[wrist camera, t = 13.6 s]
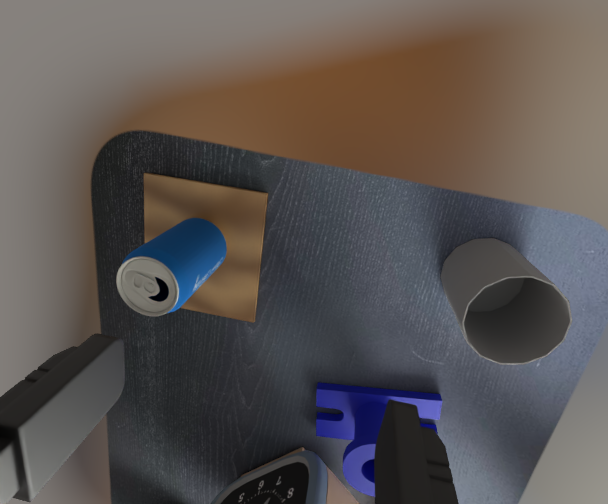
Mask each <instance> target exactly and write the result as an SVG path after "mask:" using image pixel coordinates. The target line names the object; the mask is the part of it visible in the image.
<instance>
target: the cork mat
mask: <svg viewBox="0 0 608 504" xmlns="http://www.w3.org/2000/svg"><path fill="white" fill-rule="evenodd" d="M267 200H268V193H266V192H260V191H254V190H248V189H242V188H236V187H230V186H224V185H218V184H212V183H206V182H200V181H194V180H188V179H182V178H176V177H171V176H165V175H159V174H153V173H144V227H145V243H147V242H149V241H150V240H152V239H154V238H155V237H157V236H159V235H160V234H162V233H164V232H165V231H167V230H169V229H170V228H172V227H174V226H175V225H177V224H179V223H181V222H182V221H184V220H186V219H189V218H202V219H205V220H208V221H210V222H211V223H213V224H214V225H216V226H217V227H218V228H219V230H220V231H221V232H222V234H223V236H224V238H225V240H226V245H227V253H226V257H225V259H224V261H223V263H222V264H221V265H220V266H219V267H218V268H217V269H216V270H215V271H214V273H213V274H212V275H211V276H210V277H209V278H208V279H207V280H206V281H205V282H204V283H203V284H202V285H201V286H200V287H199V288H198V289H197V290H196V291H195V293H194V294H193V295H192V296H191V297H190V298H189V299H188V300H187V301H186V302H185V303H184V304H183V305H182V306H181V307H180V308H183V309H188V310H193V311H198V312H203V313H208V314H213V315H218V316H223V317H228V318H233V319H238V320H243V321H248V322H253V323H254V321H255V317H256V307H257V297H258V288H259V278H260V268H261V258H262V249H263V239H264V229H265V219H266V210H267Z"/></svg>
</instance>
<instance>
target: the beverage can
mask: <svg viewBox="0 0 608 504" xmlns="http://www.w3.org/2000/svg"><path fill="white" fill-rule="evenodd" d="M226 253H227V245H226V240H225V238H224V236H223V234H222V232H221V231H220V230H219V228H218V227H217V226H216V225H214V224H213V223H211V222H210V221H208V220H205V219H202V218H189V219H186V220H184V221H182V222H181V223H179V224H177V225H175V226H174V227H172V228H170V229H169V230H167V231H165V232H164V233H162V234H160V235H159V236H157V237H155V238H154V239H152V240H150V241H149V242H147V243H145V244H144V245H142V246H140V247H138V248H137V249H135V250H133V251H132V252H130V253H129V254H128V255H127V256H126V258H125V259H124V261H123V263H122V265H121V267H120V268H119V270H118V273H117V277H116V283H117V288H118V291H119V294H120V296H121V297H122V299H123V300H124V301H125V303H126V304H127V305H128V306H129V307H131V308H132V309H133V310H135V311H136V312H138V313H141V314H143V315H147V316H161V315H164V314H166V313H171V312H173V311H175V310H177V309H179V308H180V307H181V306H182V305H183V304H184V303H185V302H186V301H187V300H188V299H189V298H190V297H191V296H192V295H193V294H194V293H195V291H196V290H197V289H198V288H199V287H200V286H201V285H202V284H203V283H204V282H205V281H206V280H207V279H208V278H209V277H210V276H211V275H212V274H213V273H214V271H215V270H216V269H217V268H218V267H219V266H220V265H221V264H222V263H223V261H224V259H225V257H226Z"/></svg>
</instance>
